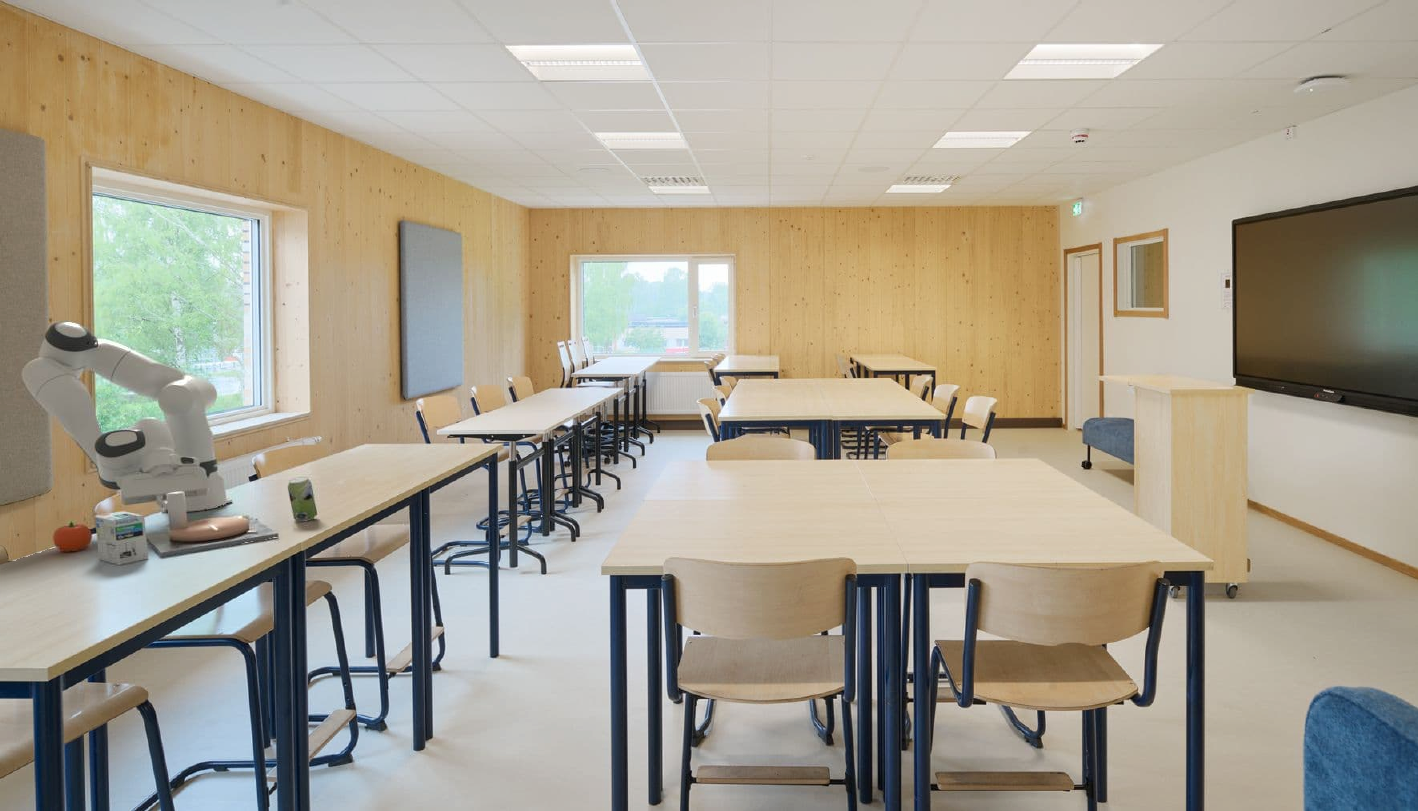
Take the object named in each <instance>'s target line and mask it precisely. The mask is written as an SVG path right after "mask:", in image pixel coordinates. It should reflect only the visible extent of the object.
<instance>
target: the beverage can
mask: <svg viewBox="0 0 1418 811" xmlns="http://www.w3.org/2000/svg"><path fill="white" fill-rule="evenodd" d="M312 484H313V483H312V481H311V480H310V479H309V478H308V477H306V476H301V477H300V476H299V477H294V478H292V479H290V480H289V481H288V485H287V491H288V496H289V500H290V501H289V502H290V506H291V511H292V515H293V519H294V521H295V520H296V521H297V520H299V521H298V522H306V521H305V520H308V521H311V520H313V519H315V517H316V516H317V515H318V511H317V505H316V501H315V494H314V490H313V485H312ZM310 519H311V520H310Z"/></svg>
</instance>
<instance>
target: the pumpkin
mask: <svg viewBox="0 0 1418 811" xmlns="http://www.w3.org/2000/svg"><path fill="white" fill-rule="evenodd" d="M92 536H93V535H92V531H91V529H90V528H89V527H88V526H87V525H86V524H77V523H76V524H74V522H72V521H71V522H70V523H69V524H68V525H64V526H61V527H58V528H56V529H55V531H54V533H53V536H52V539H53V540H52V541H53V543H54V546H55V547H56V548H57V547H59V548H57V549H58V551H60V552H64V551H67V552H66V553H71V552H70V551H72V552H77V550H79V551H81V549H82V550H83V549H86V548H87V547H89V545H90V544H91V542H92Z"/></svg>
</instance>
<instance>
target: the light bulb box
mask: <svg viewBox="0 0 1418 811" xmlns="http://www.w3.org/2000/svg"><path fill="white" fill-rule="evenodd" d="M94 522H95V528H96V529H95V531H96V538H97V540H96V541H97V548H98V558H99V559H100V560H101V561H104V562H108V563H111V564H114V565H118V566H120V565H125V564H129V563H135V562H138V561H145V560H148V559H149V551H148V543H147V540H146V534H147V533H146V522H145V515H144V514H139V513H133V512H129V511H125V510H123V511H121V510H120V511H116V512H110V513H103V514H97V515H94Z"/></svg>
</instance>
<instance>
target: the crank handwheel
mask: <svg viewBox="0 0 1418 811" xmlns="http://www.w3.org/2000/svg"><path fill="white" fill-rule="evenodd" d="M166 496H167V500H166V501H167V507H168V512H167V515H168V516H167V519H168V527H169V529H168V530H169V537H170V539H171V540H174V541H203V540H212V539H219V538H224V537H229V536H233V535H237V534H240V533H243V532H245V531H247V530H248V529H249V520H248V519H246V518H241V517H234V516H231V517H230V516H226V517H211V518H203V519H196V520H193V521H192V520H191V521H188V517H187V512H186V502H185V492H171V493H167V494H166Z"/></svg>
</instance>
